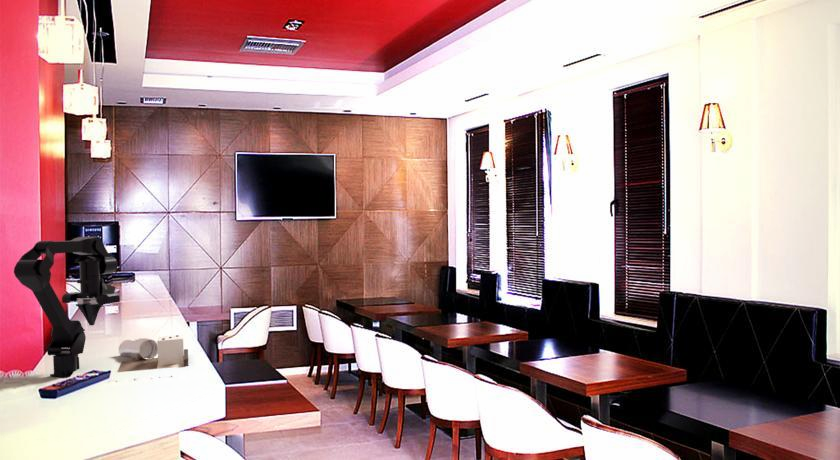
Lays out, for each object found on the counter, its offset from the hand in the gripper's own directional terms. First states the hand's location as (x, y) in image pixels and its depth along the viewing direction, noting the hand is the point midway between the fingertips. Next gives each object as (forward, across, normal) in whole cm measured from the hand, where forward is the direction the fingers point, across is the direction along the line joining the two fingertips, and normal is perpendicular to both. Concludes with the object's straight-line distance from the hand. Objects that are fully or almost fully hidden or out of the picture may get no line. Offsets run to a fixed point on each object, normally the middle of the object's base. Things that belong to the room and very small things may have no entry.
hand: (91, 325), depth 225 cm
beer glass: (+10, -1, -14) cm, 17 cm away
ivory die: (+12, -25, -7) cm, 28 cm away
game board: (+13, -21, -4) cm, 25 cm away
